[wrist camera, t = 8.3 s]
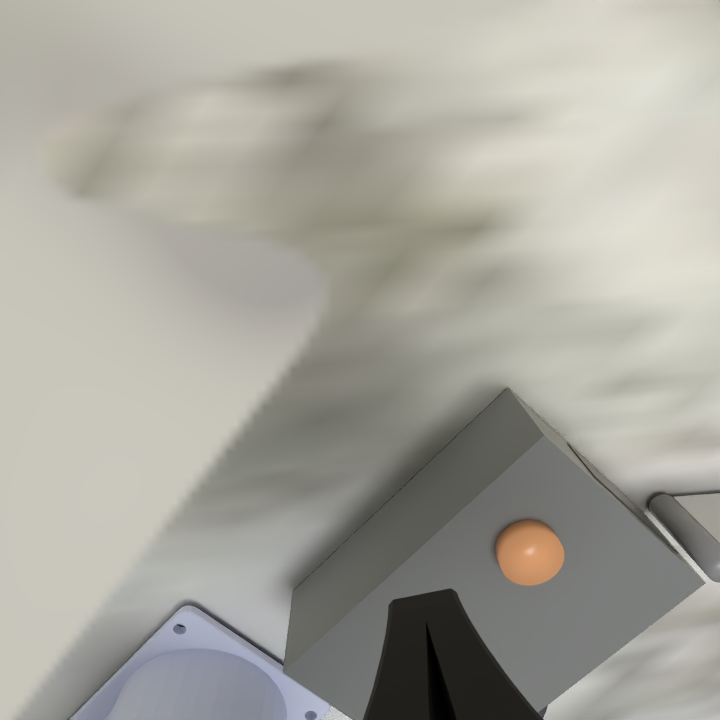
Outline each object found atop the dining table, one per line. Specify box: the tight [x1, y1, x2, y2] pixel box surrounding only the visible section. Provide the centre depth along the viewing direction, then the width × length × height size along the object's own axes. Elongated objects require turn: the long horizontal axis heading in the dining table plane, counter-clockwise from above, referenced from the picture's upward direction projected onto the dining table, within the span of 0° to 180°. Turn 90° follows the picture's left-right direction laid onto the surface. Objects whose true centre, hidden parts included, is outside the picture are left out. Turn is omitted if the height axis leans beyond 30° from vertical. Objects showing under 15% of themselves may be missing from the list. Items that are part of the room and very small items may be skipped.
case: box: [283, 388, 705, 720], centre depth 21 cm, size 12×9×5 cm
